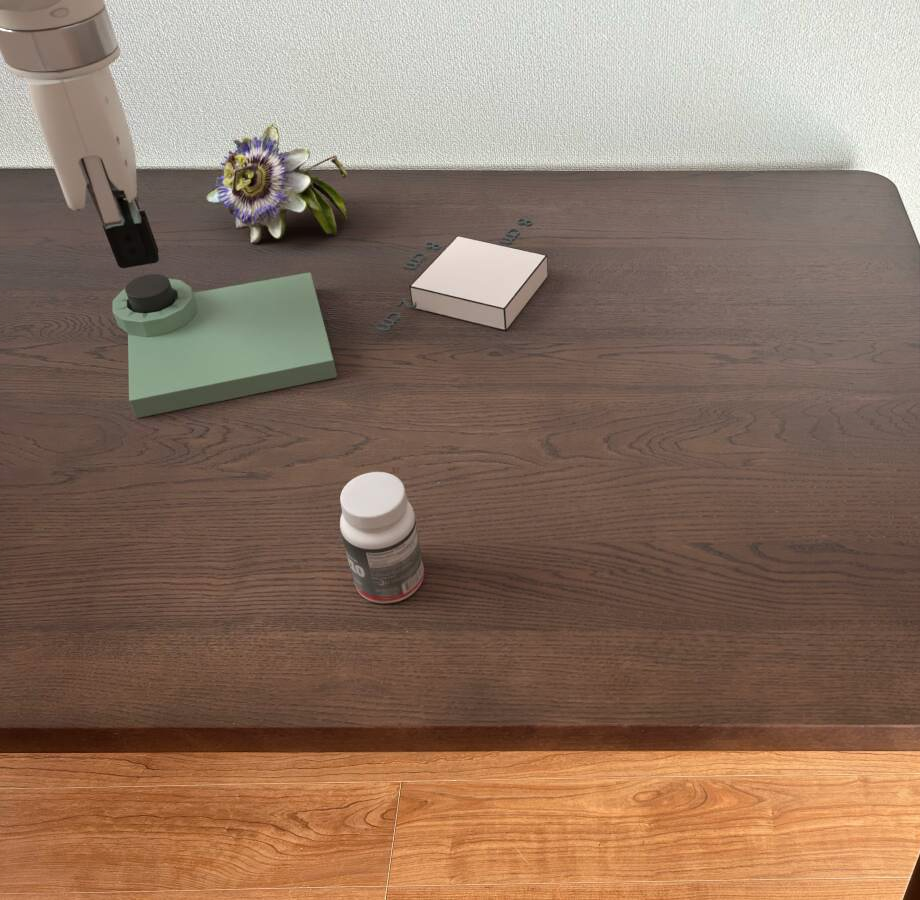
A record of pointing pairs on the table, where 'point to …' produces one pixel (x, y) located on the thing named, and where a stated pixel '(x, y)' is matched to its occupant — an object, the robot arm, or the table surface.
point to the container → (476, 281)
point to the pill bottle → (381, 538)
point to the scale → (224, 343)
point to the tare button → (150, 293)
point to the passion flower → (273, 187)
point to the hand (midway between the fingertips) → (139, 260)
